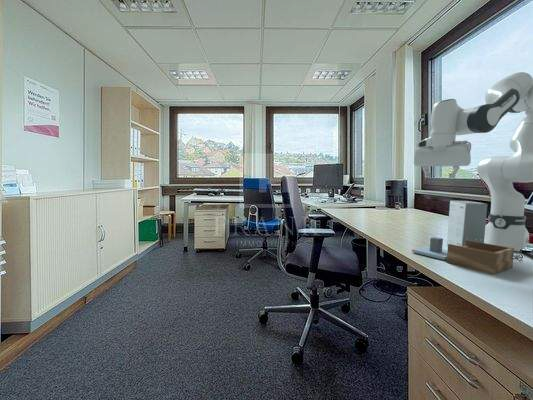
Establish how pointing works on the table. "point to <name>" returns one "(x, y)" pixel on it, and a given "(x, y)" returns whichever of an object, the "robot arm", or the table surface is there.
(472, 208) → the hard drive box
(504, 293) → the table surface
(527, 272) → the table surface
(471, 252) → the walnut box
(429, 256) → the felt mat
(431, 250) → the cover plate
